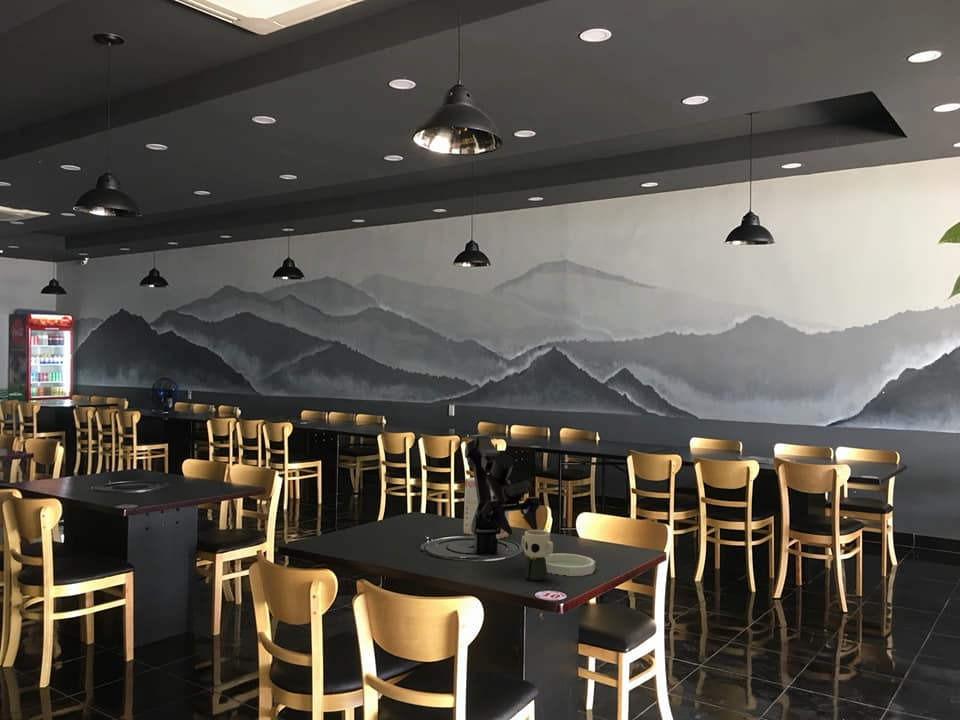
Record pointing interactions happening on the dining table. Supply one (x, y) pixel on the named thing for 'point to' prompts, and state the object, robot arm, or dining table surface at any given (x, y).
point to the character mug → (536, 553)
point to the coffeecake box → (475, 507)
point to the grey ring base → (569, 564)
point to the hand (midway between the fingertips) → (523, 532)
